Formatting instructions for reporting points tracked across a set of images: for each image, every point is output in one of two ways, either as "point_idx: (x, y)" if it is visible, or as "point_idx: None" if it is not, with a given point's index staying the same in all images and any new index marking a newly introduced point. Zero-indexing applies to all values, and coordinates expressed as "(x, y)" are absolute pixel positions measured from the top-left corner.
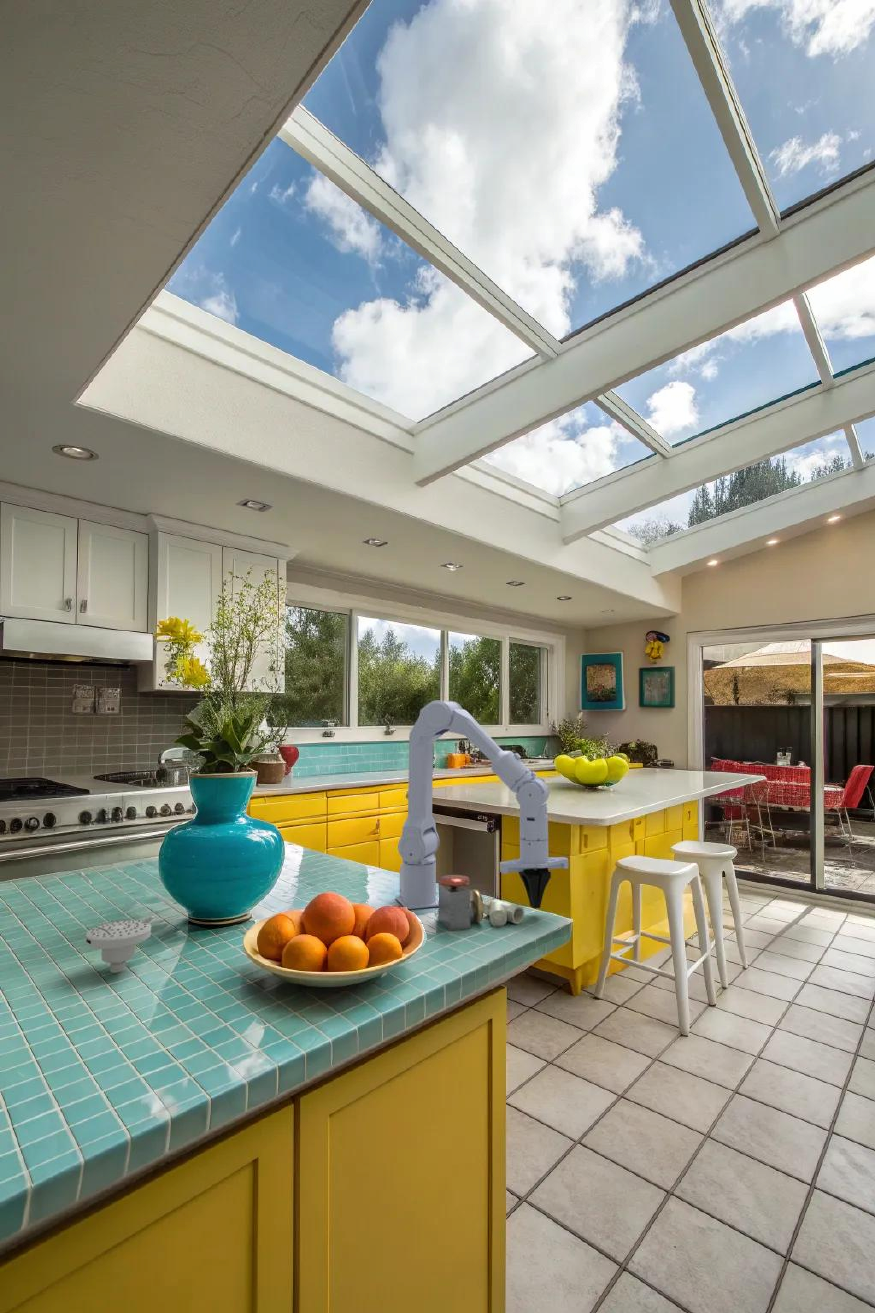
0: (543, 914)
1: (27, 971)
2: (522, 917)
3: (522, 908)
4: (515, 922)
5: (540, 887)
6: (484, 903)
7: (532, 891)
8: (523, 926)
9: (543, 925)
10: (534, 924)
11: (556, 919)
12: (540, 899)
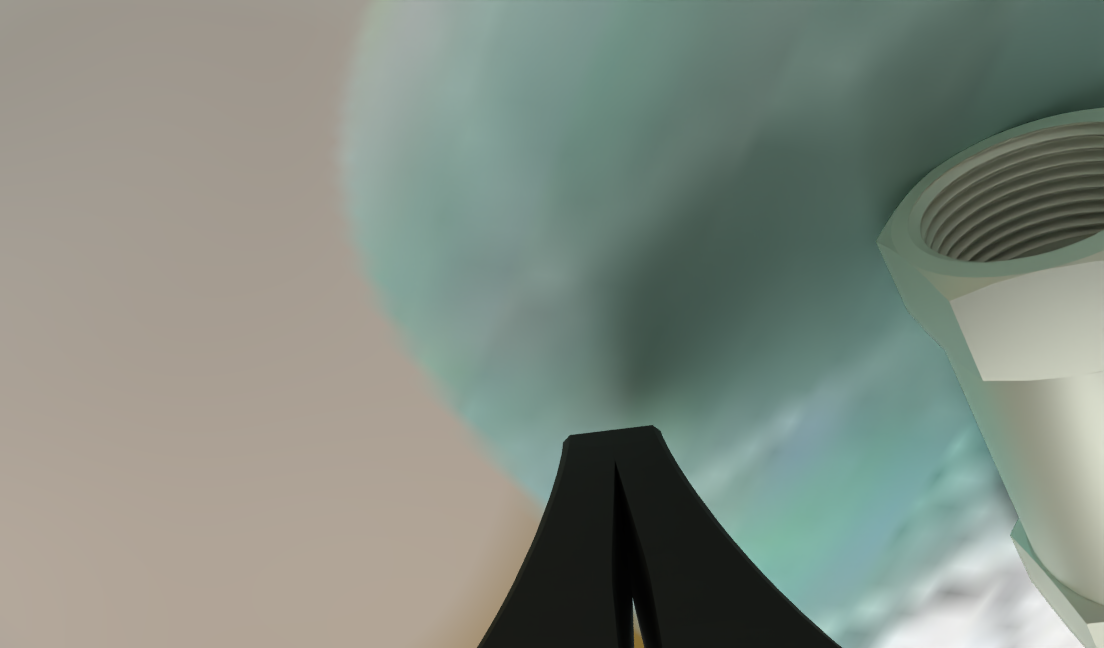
0: (496, 437)
1: None
2: (914, 219)
3: (975, 271)
4: (1052, 121)
5: (599, 640)
6: None
7: (765, 577)
8: (959, 31)
9: (658, 21)
10: (765, 91)
11: (390, 242)
12: (576, 495)
